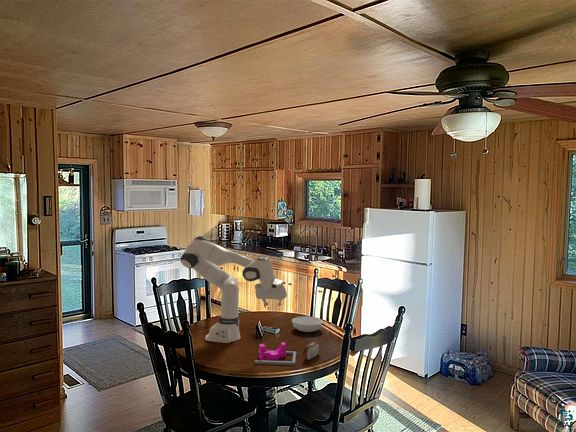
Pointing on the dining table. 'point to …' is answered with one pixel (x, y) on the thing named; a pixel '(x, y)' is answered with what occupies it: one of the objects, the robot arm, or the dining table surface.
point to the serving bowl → (307, 324)
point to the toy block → (272, 352)
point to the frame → (279, 361)
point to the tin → (311, 350)
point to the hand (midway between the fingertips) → (273, 305)
